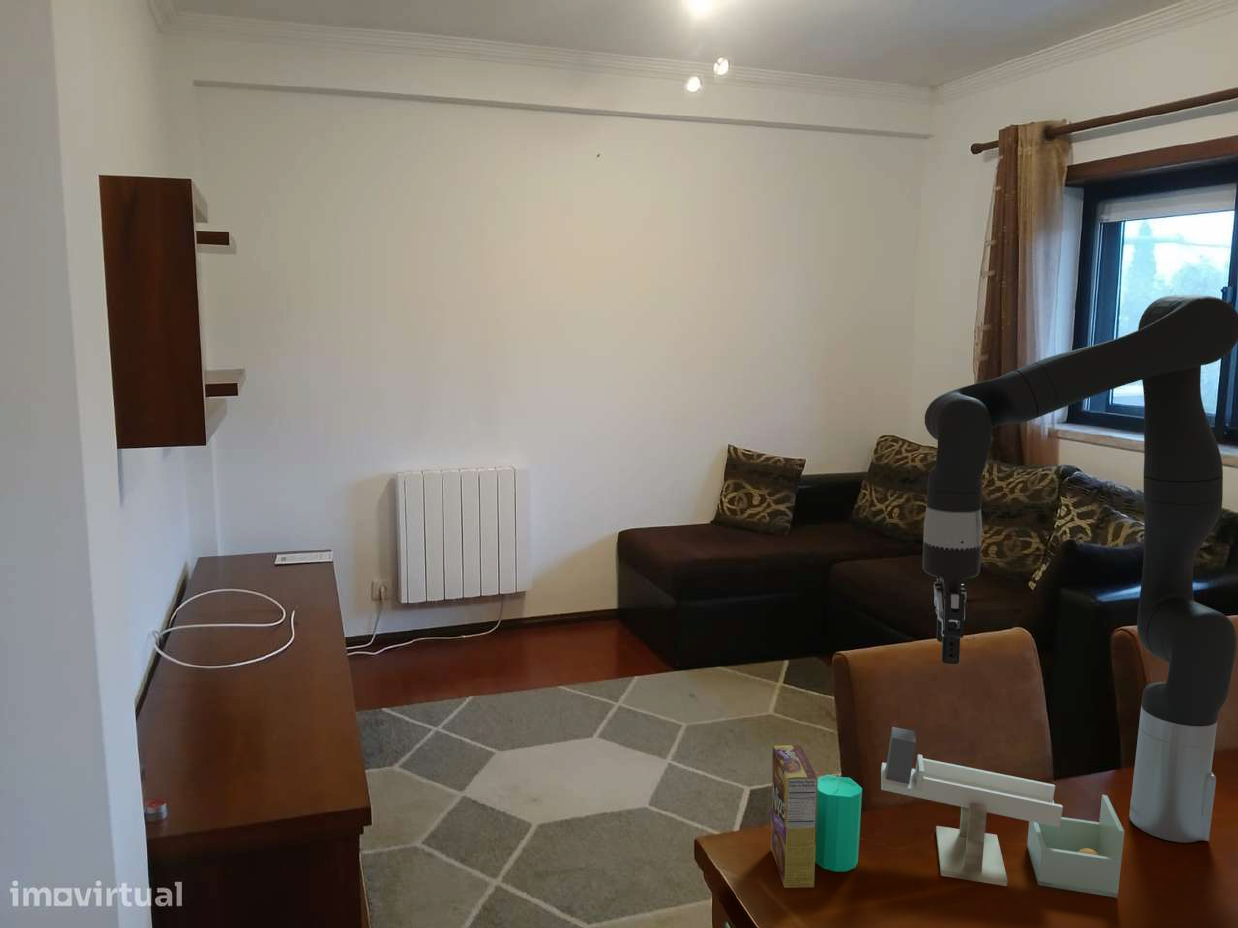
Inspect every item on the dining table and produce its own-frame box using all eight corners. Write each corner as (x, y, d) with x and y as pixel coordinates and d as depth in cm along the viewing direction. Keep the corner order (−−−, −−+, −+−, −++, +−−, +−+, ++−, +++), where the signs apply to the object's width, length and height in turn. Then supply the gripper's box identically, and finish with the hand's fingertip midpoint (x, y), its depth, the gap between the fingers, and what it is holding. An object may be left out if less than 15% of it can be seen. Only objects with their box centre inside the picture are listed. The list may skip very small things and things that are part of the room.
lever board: (1049, 807, 124) (1059, 754, 123) (1058, 833, 118) (1069, 778, 116) (880, 772, 130) (888, 720, 128) (880, 795, 123) (888, 742, 122)
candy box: (767, 849, 126) (771, 743, 123) (798, 848, 126) (803, 743, 124) (781, 889, 117) (786, 776, 115) (814, 888, 117) (820, 776, 115)
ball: (1069, 857, 122) (1091, 868, 122) (1074, 870, 120) (1096, 882, 119) (1080, 839, 122) (1103, 850, 121) (1085, 852, 119) (1108, 863, 118)
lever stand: (996, 839, 129) (1001, 775, 127) (1007, 886, 118) (1013, 816, 117) (935, 830, 131) (940, 767, 129) (941, 875, 120) (946, 806, 119)
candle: (858, 874, 120) (864, 788, 118) (811, 868, 122) (816, 783, 120) (856, 848, 126) (861, 766, 124) (811, 843, 127) (816, 761, 125)
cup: (1100, 857, 125) (1107, 795, 123) (1117, 897, 116) (1124, 831, 115) (1027, 845, 127) (1032, 785, 126) (1038, 884, 119) (1044, 819, 117)
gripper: (988, 553, 119) (982, 673, 122) (974, 528, 133) (969, 636, 136) (927, 551, 121) (922, 668, 124) (920, 526, 135) (916, 632, 138)
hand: (947, 651), depth 130 cm, fingers open, 8 cm apart
